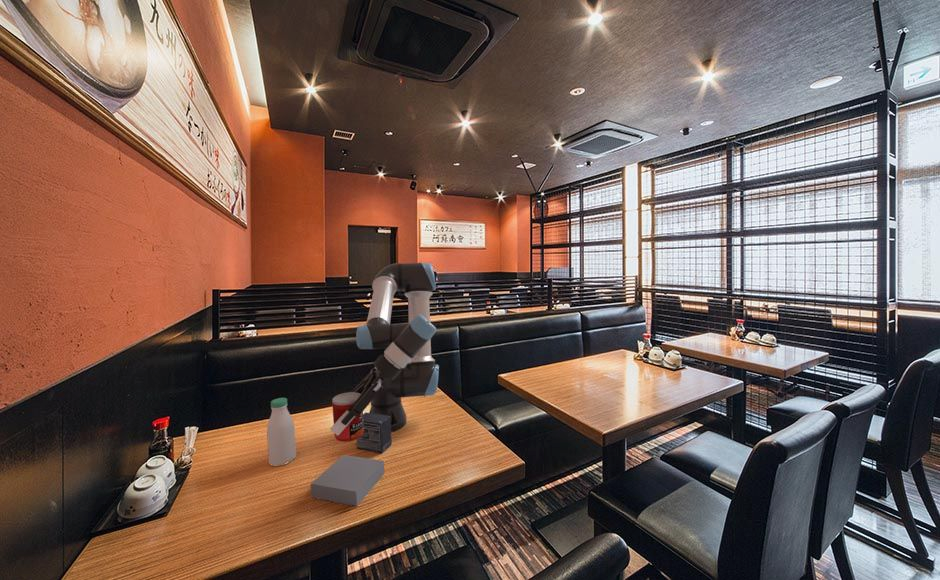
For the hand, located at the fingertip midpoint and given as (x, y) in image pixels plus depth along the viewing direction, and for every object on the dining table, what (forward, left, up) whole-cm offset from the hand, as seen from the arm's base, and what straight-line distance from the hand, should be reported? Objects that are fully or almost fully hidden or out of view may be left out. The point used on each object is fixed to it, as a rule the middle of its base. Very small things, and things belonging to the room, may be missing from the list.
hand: (335, 424), depth 93 cm
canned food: (-2, +3, -4) cm, 5 cm away
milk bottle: (-8, -27, -19) cm, 34 cm away
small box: (-22, -2, -19) cm, 29 cm away
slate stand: (-2, +2, -18) cm, 19 cm away
